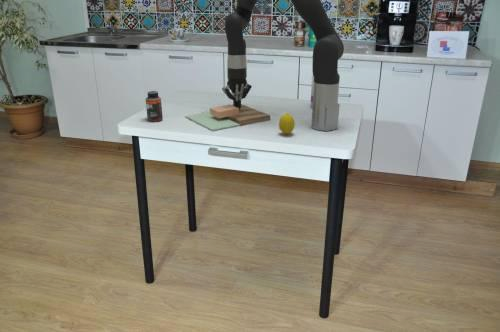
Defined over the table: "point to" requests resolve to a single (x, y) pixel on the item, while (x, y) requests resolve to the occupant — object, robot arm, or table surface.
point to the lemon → (286, 123)
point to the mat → (212, 121)
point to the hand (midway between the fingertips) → (237, 109)
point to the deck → (248, 116)
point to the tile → (224, 111)
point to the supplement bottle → (154, 107)
